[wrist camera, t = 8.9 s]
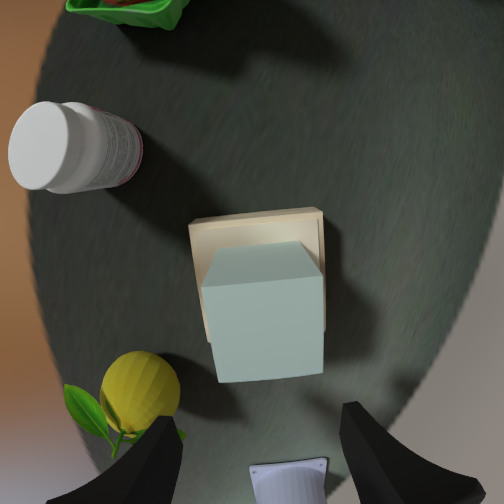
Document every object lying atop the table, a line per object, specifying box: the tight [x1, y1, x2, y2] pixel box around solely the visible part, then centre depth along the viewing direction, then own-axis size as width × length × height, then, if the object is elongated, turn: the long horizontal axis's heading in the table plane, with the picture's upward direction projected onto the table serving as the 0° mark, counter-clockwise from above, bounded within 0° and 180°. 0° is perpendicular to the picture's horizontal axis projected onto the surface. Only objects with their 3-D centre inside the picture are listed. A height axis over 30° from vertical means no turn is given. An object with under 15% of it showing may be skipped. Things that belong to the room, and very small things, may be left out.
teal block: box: [201, 241, 324, 383], centre depth 14 cm, size 4×4×6 cm
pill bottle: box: [8, 102, 143, 194], centre depth 14 cm, size 5×5×8 cm
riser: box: [188, 207, 326, 342], centre depth 19 cm, size 8×8×3 cm
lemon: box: [64, 351, 187, 458], centre depth 17 cm, size 7×6×10 cm
